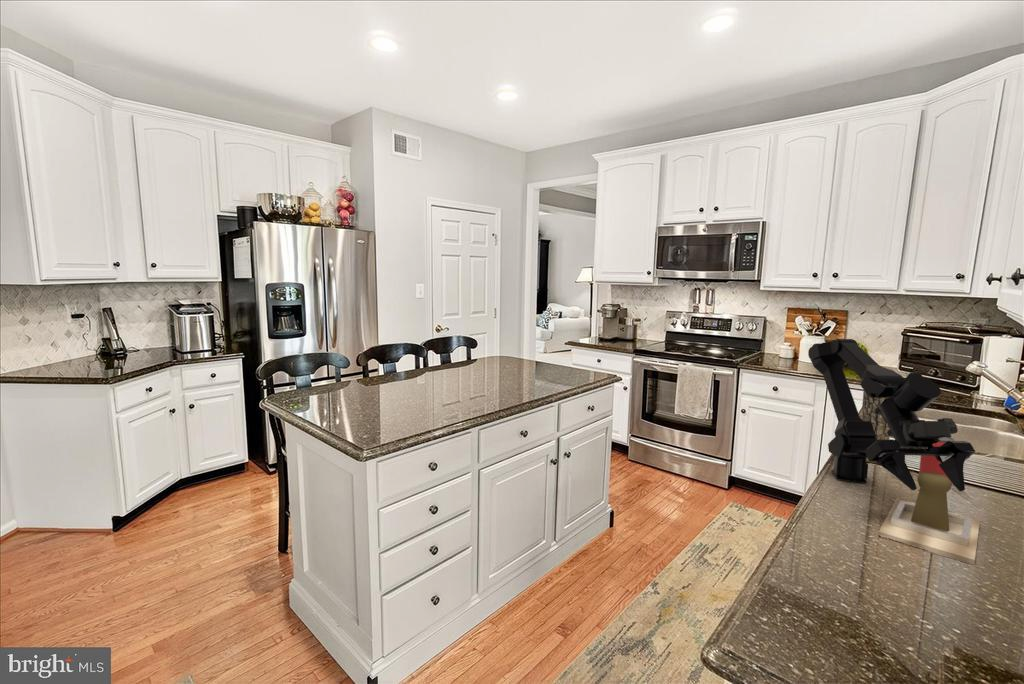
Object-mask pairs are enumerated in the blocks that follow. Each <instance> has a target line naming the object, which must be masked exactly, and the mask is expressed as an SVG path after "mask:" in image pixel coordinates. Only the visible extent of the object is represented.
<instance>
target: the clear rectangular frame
mask: <svg viewBox="0 0 1024 684" xmlns="http://www.w3.org/2000/svg"><path fill="white" fill-rule="evenodd" d="M914 508H915V504H911V503H907V502H903V501H900V502H899V504H898V506H897V508H896V510H895V512H894V514H893V516H892V518H891V525H892V526H896V527H900V528H903V529H907V530H910V531H914V532H917V533H921V534H924V535H928V536H931V537H935V538H939V539H942V540H946V541H949V542H953V543H956V544H960V545H963V546H968V541H969V535H970V529H971V522H972V519H971V518H967V517H963V516H959V515H955V514H951V513H948V519H949V522H952V523H956V524H960V525H963V530H962V535H958V534H955V533H951V532H947V531H944V530H940V529H936V528H932V527H929V526H925V525H921V524H918V523H914V522H910V521H907V520H903V519H901V517H902V515H903V513H904V511H905V510H906V511H910V512H913V511H914Z"/></svg>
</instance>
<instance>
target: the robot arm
mask: <svg viewBox="0 0 1024 684" xmlns="http://www.w3.org/2000/svg"><path fill="white" fill-rule="evenodd" d="M858 344H859V343H858V342H857V340H856V339H853V338H836V339H831V340H830V341H825V342H820V343H814V344H812V346H811V347H809V349H808V358H809V359H810V361H811V363H812V366H813V368H815V370H816V371H818V372H819V373H821V374H822V375H823V379H824V383H825V385H826V388H827V391H828V394H829V397H830V400H831V404H832V407H833V409H834V412H835V416H836V418H837V424H836V427H835V429H834V438H833V439H832V440H830V441H829V442H828V443H827V447H828V452H829V453H830V454H832V455H834V462H833V469H831V472H832V474H833V475H834V476H833V477H835V479H836V480H838V481H846V482H850V483H851V482H854V483H859V484H867V482H868V481H867V479H868V473H869V471H868V470H869V463H871V462H876V463H875V464H876V466H881V467H883V469H885V470H886V471H888V472H889V473H890V474H892V475H893V476H894V477H895V478H897V479H898V480H899V481H900V482H902V484H904V485H905V486H907V487H908V488H909V489H910V490H911V491H915V490H917V488H918V487H917V485H916V483H915V480H914V478H913V476H912V473H911V471H910V469H909V467H908V466H907V463H906V456H920V457H921V456H935V457H936V459H937V460H938V461H940V462H941V464H939V466H940V467H941V469H942V470H943V471H944V473H945V474H946V475H947V477H948V478H949V479H950V481H951V482H952V486H954V487H955V488H956V490H958V491H959V492H964V491H965V490H966V486H965V485H966V484H965V476H964V466H965V461H966V460H968V459H969V458H971V456H972V455H974V454H976V453H977V451H976V450H975V448H974V446H973V445H972V444H971V442H968V441H966V440H954V441H947V442H946V443H944V444H943V445H941V446H940V447H933V444H934V443H937V442H939V441H940V440H939V438H942V437H951V438H953V437H952V435H953V434H954V435H955V434H957V433H958V432H959V430H958V425H957V423H955V421H954V420H953V418H951V417H942V418H938V419H937V420H925V419H920V418H919V417H918V415H917V413H916V412H921V411H922V410H924V409H925V408H926V407H928V406H929V404H931V403H932V402H933V401H935V400H936V399H937V398H938V397H940V395H941V392H942V391H941V388H940V386H939V385H938V384H937V383H936V382H934V381H933V380H931V379H930V378H928V377H926V376H923V374H922V373H921V372H910V373H908V375H907V376H906V377H905V378H904V376H902V375H901V374H900V373H898V372H896V371H894V370H893V369H889V368H887V367H883V366H881V365H880V364H879V363H877V362H876V361H875V360H874V359H873V358H872V357H871V356H870V355H869V354H868V353H867V352H866V351H865V350H863V348H862V347H860V346H859V345H858ZM846 364H847V366H849V367H850V369H852V371H854V373H855V374H856V375H857V376H858V377H859V378H860V387H861V389H863V391H865V392H866V394H867V395H868V396H869V397H871V398H887V399H885V400H884V401H883V402H882V403H878V405H877V407H876V409H875V414H883V416H884V418H885V420H886V422H887V424H888V426H889V428H890V430H889V431H887V434H888V436H890V437H893V438H894V439H889V440H884V439H878V440H877V438H876V437H877V435H876V433H875V432H874V429H873V425H872V423H871V422H870V421H863V420H862V419H861V417H860V414H859V411H858V408H857V405H856V403H855V400H854V397H853V394H852V391H851V388H850V386H849V382H848V380H847V377H846V374H845V372H844V369H845V365H846ZM866 458H868V460H869V461H870V462H869V463H868V462H867V461H866Z"/></svg>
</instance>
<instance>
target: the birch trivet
mask: <svg viewBox="0 0 1024 684" xmlns="http://www.w3.org/2000/svg"><path fill="white" fill-rule="evenodd" d="M900 501H903V502H907V503H911V504H916V502H912V501H909V500H904V499H900V498H896V499H895V501H894V503H893V505H892V507H891V508H890V510H889V512H888V514H887V516H886V518H885V519H884V521H883V523H882V524H881V527H880V529H879V530H878V535H880V536H883V537H887V538H890V539H893V540H897V541H901V542H904V543H907V544H910V545H914V546H917V547H921V548H924V549H926V550H928V551H927V552H929V551H930V552H929V553H932V554H936V555H940V556H942V557H945V558H949V559H953V560H957V561H960V562H963V563H965V564H969V565H972V564H973V565H972V566H975V563H974V562H976V555H977V554H976V553H977V547H978V546H977V545H978V540H979V532H980V525H981V519H980V518H977V517H973V516H969V515H964V514H960V513H958V512H957V513H956V512H952V511H949V510H948V513H951V514H955V515H959V516H963V517H967V518H971V519H972V522H971V529H970V535H969V541H968V546H963V545H960V544H956V543H953V542H949V541H946V540H942V539H939V538H935V537H931V536H928V535H924V534H921V533H917V532H914V531H910V530H907V529H903V528H900V527H896V526H892V525H891V518H892V516H893V514H894V512H895V510H896V508H897V506H898V504H899V502H900ZM912 515H913V512H910V511H906V510H905V511H904V513H903V515H902V517H901V519H903V520H907V521H910V522H911V518H912ZM962 530H963V525H960V524H956V523H952V522H949V531H948V532H951V533H955V534H958V535H962ZM878 535H877V536H878Z"/></svg>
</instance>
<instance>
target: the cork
mask: <svg viewBox="0 0 1024 684" xmlns="http://www.w3.org/2000/svg"><path fill="white" fill-rule="evenodd" d="M917 484H918V487H919V491H918V494H917V497H916V501H915V503H916V504H915V508H914V511H913V515H912V518H911V522H914V523H918V524H921V525H925V526H929V527H932V528H936V529H940V530H944V531H947V532H948V531H949V519H948V511H949V510H948V509H949V507H948V495H947V493H948V492H949V491H950V490H951V488H952V485H951V482H950V480H949V478H947V477H946V476H944V475H941V474H938V473H933V472H923V473H921V474H920V475H919V474H918V476H917Z"/></svg>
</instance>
